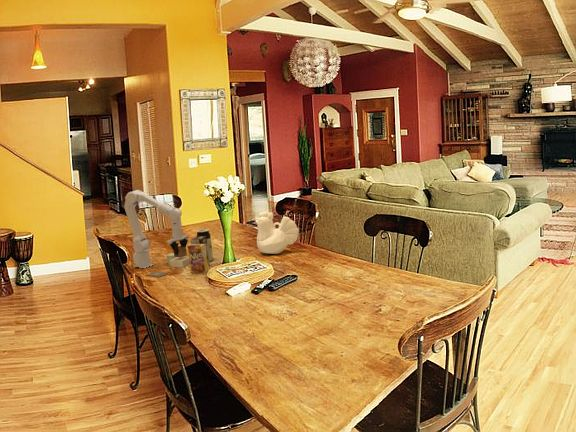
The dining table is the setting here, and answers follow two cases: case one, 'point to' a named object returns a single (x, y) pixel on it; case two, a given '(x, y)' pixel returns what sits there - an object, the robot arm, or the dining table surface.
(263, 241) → the decorative rooster
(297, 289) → the dining table surface
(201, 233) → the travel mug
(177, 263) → the base block
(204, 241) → the coffee box
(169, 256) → the sage block
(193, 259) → the candy box
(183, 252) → the walnut block
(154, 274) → the card
